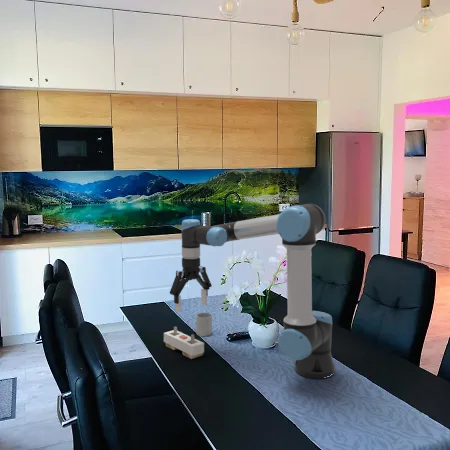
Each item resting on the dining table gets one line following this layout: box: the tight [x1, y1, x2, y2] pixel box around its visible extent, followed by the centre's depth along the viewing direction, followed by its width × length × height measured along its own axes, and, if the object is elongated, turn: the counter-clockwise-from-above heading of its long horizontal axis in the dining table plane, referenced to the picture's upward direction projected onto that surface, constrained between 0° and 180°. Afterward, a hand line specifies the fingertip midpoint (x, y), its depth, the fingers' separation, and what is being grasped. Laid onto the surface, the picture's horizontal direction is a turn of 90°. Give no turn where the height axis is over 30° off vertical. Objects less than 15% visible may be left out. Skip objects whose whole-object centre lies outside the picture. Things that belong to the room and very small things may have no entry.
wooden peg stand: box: [165, 326, 204, 360], centre depth 206 cm, size 18×6×8 cm, turn 42°
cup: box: [195, 312, 213, 337], centre depth 227 cm, size 7×10×9 cm
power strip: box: [163, 329, 205, 356], centre depth 206 cm, size 20×6×5 cm, turn 42°
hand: (191, 307), depth 203 cm, fingers open, 13 cm apart
